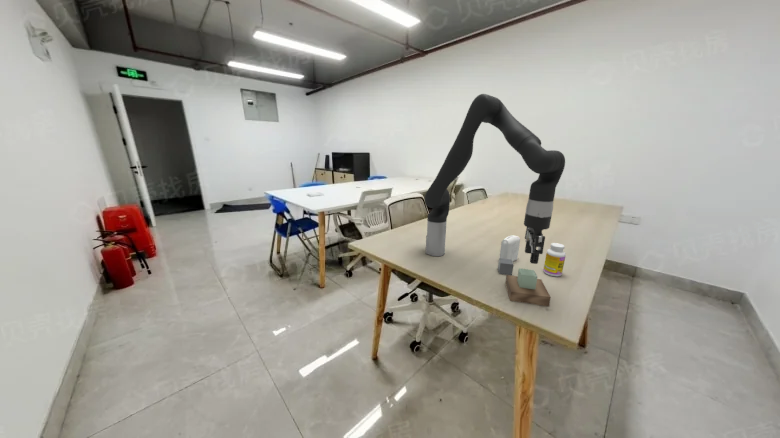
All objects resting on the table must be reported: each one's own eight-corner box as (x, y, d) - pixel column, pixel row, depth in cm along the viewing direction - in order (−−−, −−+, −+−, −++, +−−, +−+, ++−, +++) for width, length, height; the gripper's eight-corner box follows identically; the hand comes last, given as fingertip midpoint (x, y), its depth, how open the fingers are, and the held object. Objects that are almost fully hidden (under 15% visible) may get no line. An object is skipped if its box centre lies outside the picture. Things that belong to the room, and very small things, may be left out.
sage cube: (519, 287, 88) (521, 274, 87) (517, 280, 93) (518, 268, 92) (535, 289, 87) (537, 276, 85) (532, 282, 91) (534, 270, 90)
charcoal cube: (499, 273, 105) (500, 263, 104) (497, 268, 110) (499, 258, 108) (511, 275, 104) (513, 264, 102) (510, 269, 108) (511, 259, 107)
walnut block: (509, 301, 87) (511, 291, 86) (505, 284, 98) (506, 275, 97) (548, 307, 84) (550, 297, 82) (539, 288, 94) (541, 279, 93)
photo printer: (510, 256, 121) (513, 232, 118) (518, 259, 118) (522, 235, 114) (497, 261, 116) (500, 236, 112) (506, 265, 112) (509, 239, 109)
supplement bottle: (557, 278, 101) (563, 249, 97) (540, 272, 106) (545, 244, 102) (564, 273, 104) (570, 245, 101) (547, 268, 109) (552, 240, 106)
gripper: (521, 207, 90) (515, 248, 94) (530, 217, 77) (522, 265, 81) (545, 208, 88) (537, 251, 92) (558, 219, 74) (548, 268, 79)
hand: (530, 257), depth 87 cm, fingers open, 8 cm apart
